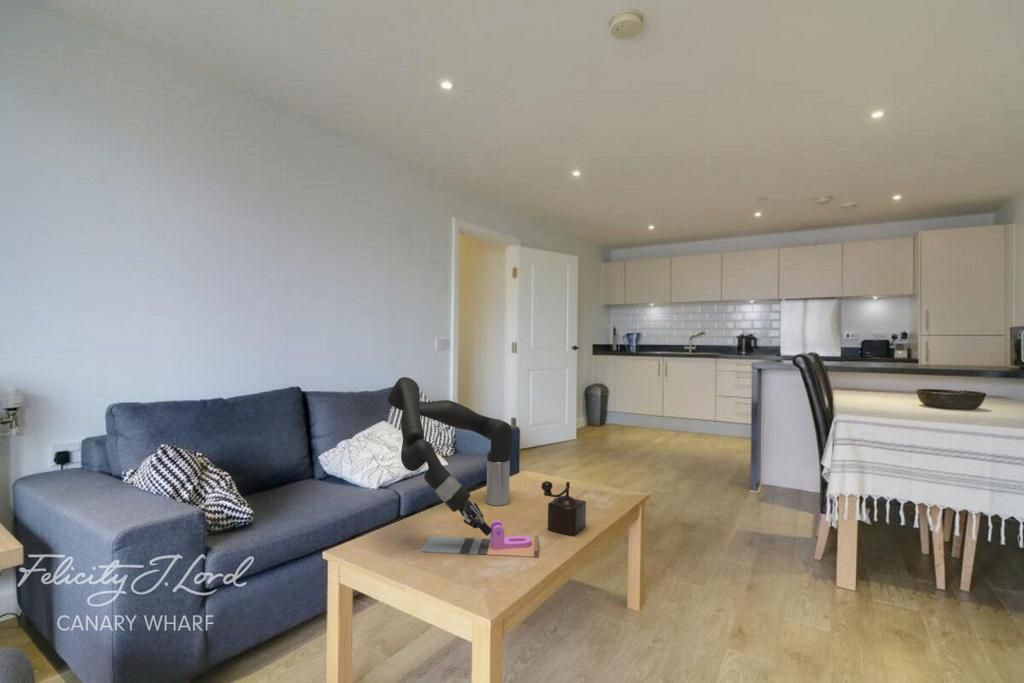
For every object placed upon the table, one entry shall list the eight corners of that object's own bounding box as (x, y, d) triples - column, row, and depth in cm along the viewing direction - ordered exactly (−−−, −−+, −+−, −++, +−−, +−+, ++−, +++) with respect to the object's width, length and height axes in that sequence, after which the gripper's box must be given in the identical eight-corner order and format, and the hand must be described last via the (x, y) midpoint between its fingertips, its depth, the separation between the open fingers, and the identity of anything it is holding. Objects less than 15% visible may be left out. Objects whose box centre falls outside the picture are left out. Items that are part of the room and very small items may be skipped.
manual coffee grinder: (558, 520, 175) (559, 471, 175) (586, 527, 169) (587, 476, 169) (538, 534, 162) (538, 481, 162) (567, 542, 156) (568, 487, 156)
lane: (429, 537, 158) (429, 531, 158) (538, 542, 156) (538, 536, 156) (421, 551, 147) (421, 545, 147) (537, 557, 145) (538, 550, 145)
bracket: (492, 549, 149) (492, 527, 149) (490, 541, 155) (490, 520, 155) (532, 547, 151) (533, 525, 151) (529, 539, 157) (529, 518, 157)
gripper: (448, 494, 159) (484, 532, 158) (439, 508, 146) (478, 550, 145) (464, 478, 158) (500, 517, 157) (456, 491, 145) (495, 533, 144)
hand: (489, 533), depth 151 cm, fingers closed
